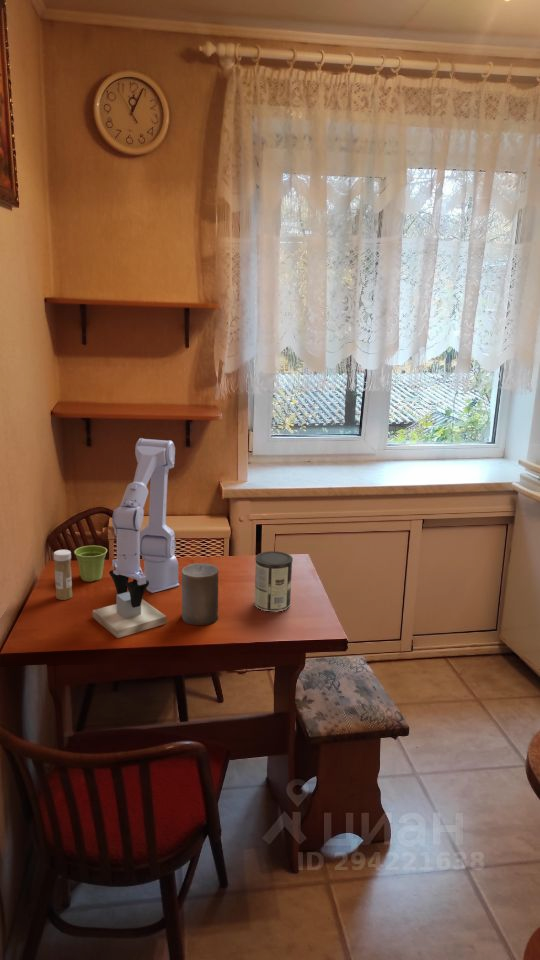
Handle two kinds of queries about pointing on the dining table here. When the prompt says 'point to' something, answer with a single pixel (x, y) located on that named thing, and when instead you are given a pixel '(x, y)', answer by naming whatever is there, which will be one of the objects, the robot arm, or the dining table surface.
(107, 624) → the birch base
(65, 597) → the sprinkles bottle
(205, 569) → the pillar candle
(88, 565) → the plant pot
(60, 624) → the dining table surface
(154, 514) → the robot arm
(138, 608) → the grey block
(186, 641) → the dining table surface
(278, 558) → the coffee can
